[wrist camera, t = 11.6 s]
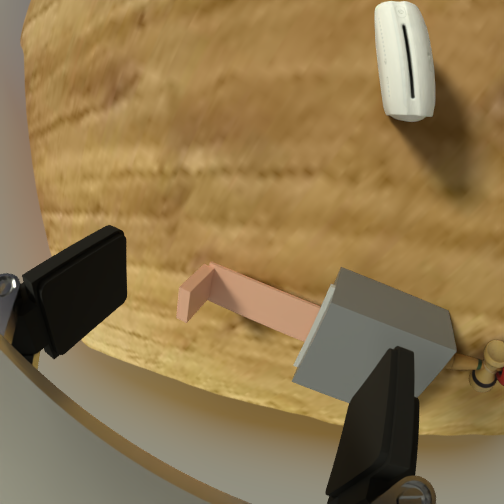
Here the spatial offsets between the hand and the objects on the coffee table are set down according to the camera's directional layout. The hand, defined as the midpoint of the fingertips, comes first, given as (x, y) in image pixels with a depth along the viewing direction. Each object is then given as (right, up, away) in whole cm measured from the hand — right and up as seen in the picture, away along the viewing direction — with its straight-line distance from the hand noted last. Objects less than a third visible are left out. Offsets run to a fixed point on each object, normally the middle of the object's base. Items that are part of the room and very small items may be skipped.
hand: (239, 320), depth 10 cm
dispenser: (+17, -8, +31) cm, 36 cm away
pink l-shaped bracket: (+2, -4, +31) cm, 31 cm away
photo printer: (+16, +21, +17) cm, 31 cm away
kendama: (+33, -13, +26) cm, 44 cm away
